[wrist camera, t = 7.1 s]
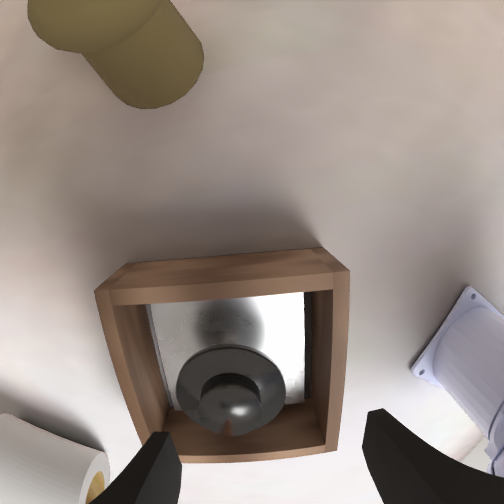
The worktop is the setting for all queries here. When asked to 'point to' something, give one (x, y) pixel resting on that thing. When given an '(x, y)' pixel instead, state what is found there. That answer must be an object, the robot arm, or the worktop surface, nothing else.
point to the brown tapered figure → (125, 45)
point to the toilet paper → (47, 466)
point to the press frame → (228, 287)
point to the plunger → (233, 358)
